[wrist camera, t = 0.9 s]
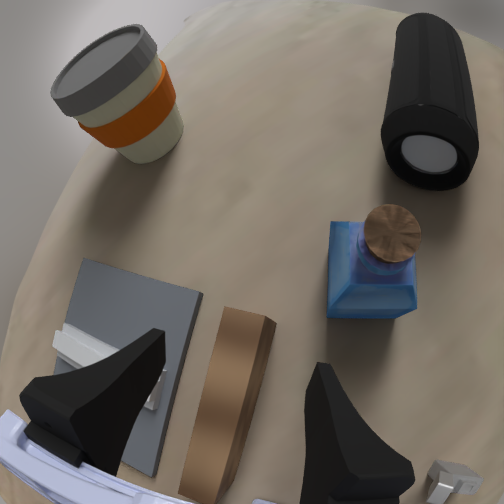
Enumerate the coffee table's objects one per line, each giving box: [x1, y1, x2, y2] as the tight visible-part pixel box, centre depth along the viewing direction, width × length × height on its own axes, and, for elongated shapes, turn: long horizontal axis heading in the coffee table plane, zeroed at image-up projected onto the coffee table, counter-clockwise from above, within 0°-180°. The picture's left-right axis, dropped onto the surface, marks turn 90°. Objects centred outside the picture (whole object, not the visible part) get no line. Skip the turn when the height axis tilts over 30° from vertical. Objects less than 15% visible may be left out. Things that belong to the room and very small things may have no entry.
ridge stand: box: [53, 258, 203, 477], centre depth 26 cm, size 20×16×3 cm
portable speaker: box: [381, 13, 479, 191], centre depth 25 cm, size 26×10×10 cm, turn 157°
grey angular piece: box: [426, 460, 484, 504], centre depth 14 cm, size 7×2×8 cm, turn 64°
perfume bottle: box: [327, 204, 421, 318], centre depth 19 cm, size 6×6×12 cm
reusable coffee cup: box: [51, 24, 184, 164], centre depth 29 cm, size 13×13×15 cm
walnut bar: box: [178, 307, 277, 504], centre depth 21 cm, size 16×3×6 cm, turn 166°
